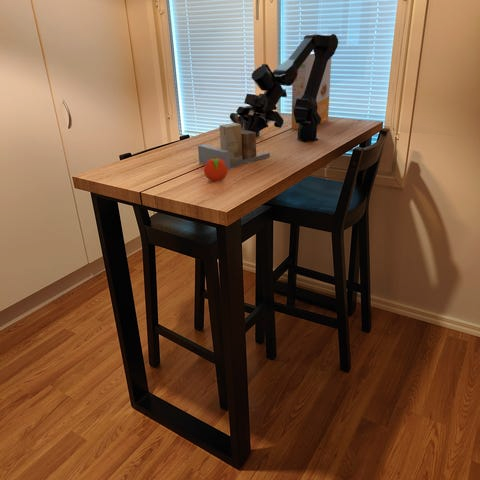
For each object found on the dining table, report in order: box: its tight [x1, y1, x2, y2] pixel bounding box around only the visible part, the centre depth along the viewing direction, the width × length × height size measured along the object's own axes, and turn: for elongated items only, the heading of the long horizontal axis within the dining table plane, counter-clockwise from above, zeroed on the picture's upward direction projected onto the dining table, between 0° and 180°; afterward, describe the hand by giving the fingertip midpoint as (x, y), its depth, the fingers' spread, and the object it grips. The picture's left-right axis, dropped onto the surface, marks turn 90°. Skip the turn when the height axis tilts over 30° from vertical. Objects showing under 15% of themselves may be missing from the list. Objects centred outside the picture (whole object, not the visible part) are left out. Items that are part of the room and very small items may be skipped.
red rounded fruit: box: [203, 158, 228, 183], centre depth 125 cm, size 8×7×7 cm
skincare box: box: [219, 122, 243, 163], centre depth 143 cm, size 6×4×12 cm
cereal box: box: [291, 51, 332, 130], centre depth 187 cm, size 22×6×30 cm, turn 143°
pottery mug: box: [229, 112, 243, 128], centre depth 195 cm, size 12×10×8 cm
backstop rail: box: [197, 143, 271, 171], centre depth 146 cm, size 21×14×6 cm, turn 132°
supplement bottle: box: [242, 105, 261, 138], centre depth 176 cm, size 7×7×12 cm
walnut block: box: [241, 129, 257, 160], centre depth 147 cm, size 4×9×9 cm, turn 42°
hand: (247, 136), depth 147 cm, fingers closed, pressing on walnut block
